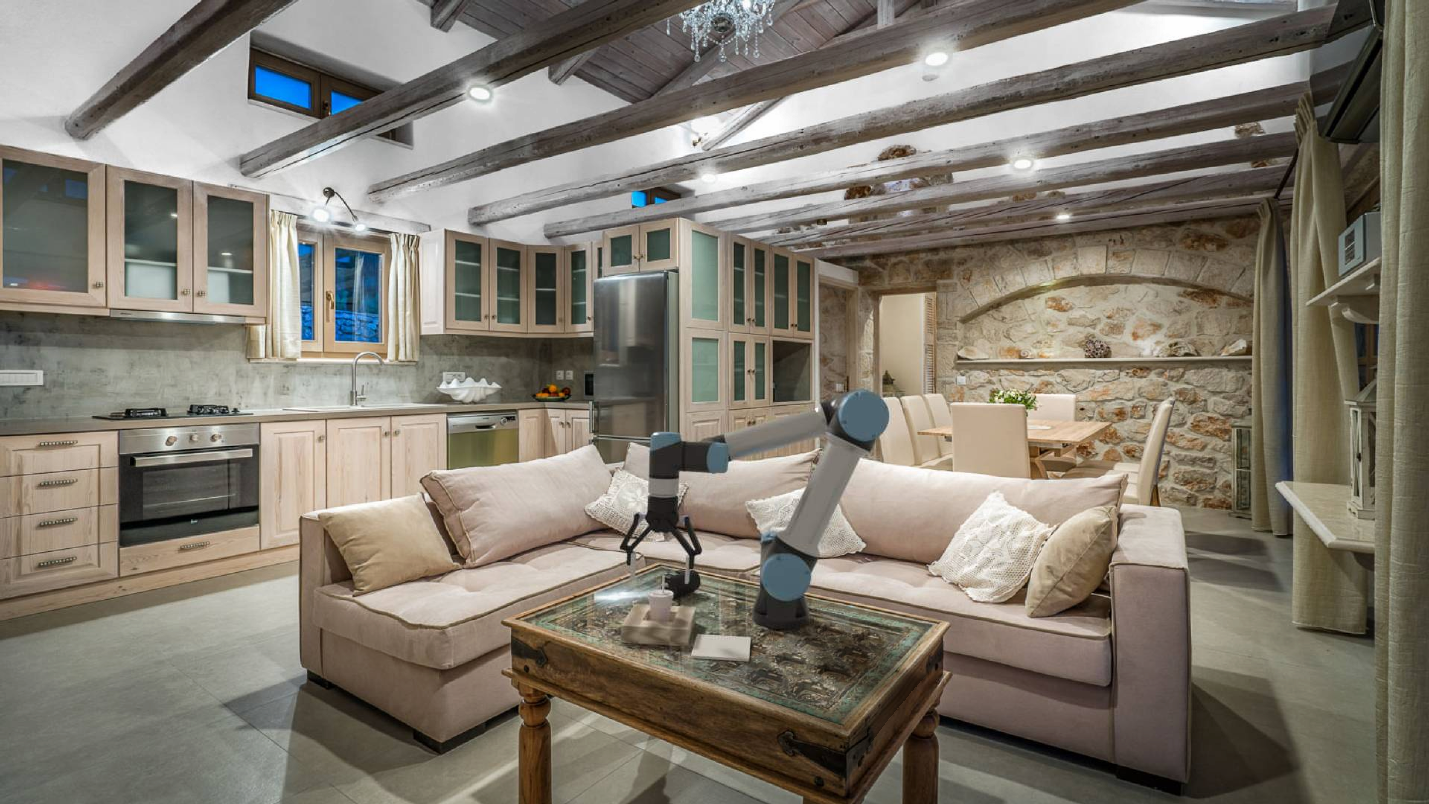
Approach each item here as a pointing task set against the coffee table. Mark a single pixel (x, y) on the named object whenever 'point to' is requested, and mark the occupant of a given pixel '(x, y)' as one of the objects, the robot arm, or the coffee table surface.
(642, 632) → the frame
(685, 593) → the end cap
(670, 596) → the smoothie
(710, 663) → the coffee table surface
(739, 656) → the tile
